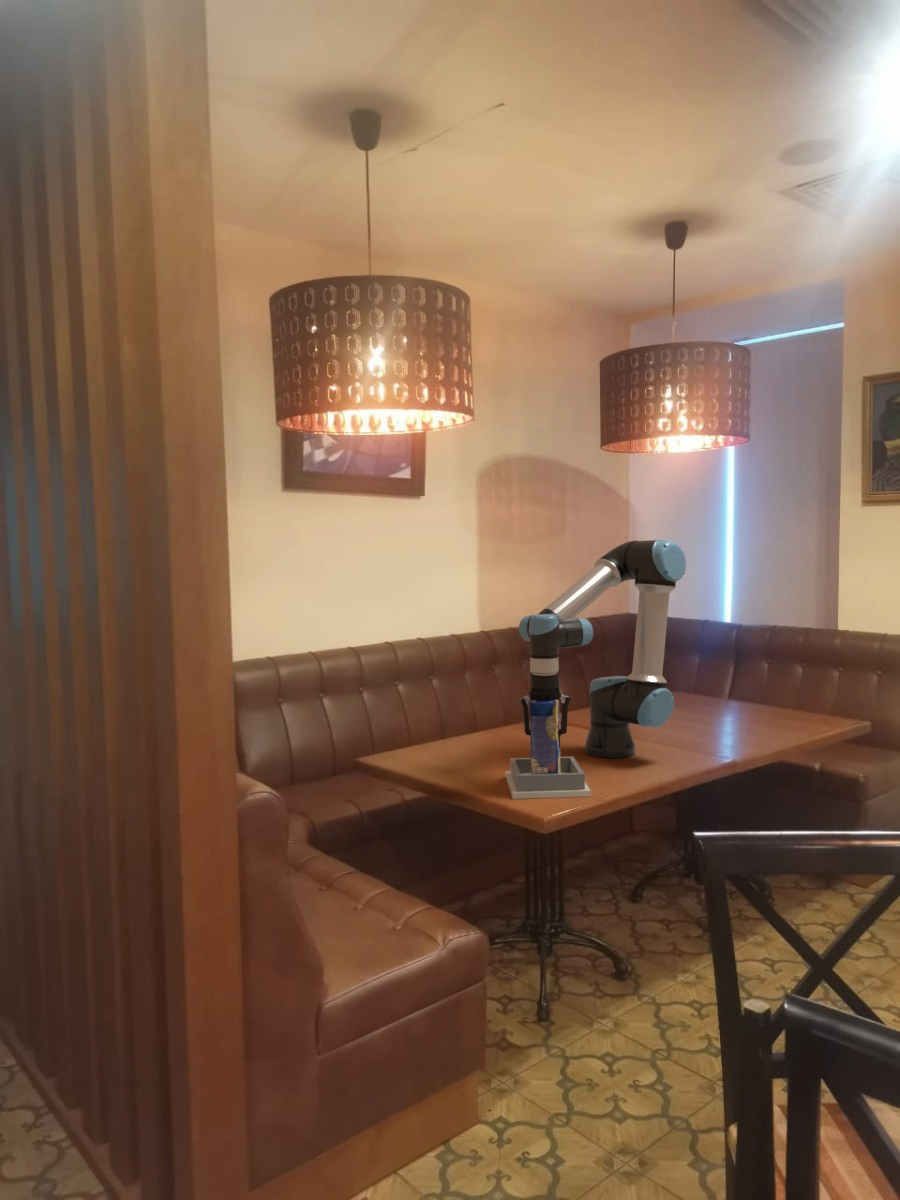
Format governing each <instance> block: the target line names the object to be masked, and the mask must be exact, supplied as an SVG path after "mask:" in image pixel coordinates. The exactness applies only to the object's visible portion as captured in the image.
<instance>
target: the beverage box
mask: <svg viewBox="0 0 900 1200" xmlns="http://www.w3.org/2000/svg"><path fill="white" fill-rule="evenodd" d="M560 709H561V707H560V699H559V700H550V701H549V700H543V701H538V700H531V699H530V701H529V726H530V735H529V736H530V758H531V774H561V768H560V757H561V746H560V747H559V737H558V727H559V729H561V718H560V717H561V716H560V713H561V712H560Z"/></svg>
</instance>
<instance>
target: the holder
mask: <svg viewBox="0 0 900 1200" xmlns="http://www.w3.org/2000/svg"><path fill="white" fill-rule="evenodd" d="M509 764H510V771H505V779H506V781H507V785H508V789H509V791H510V794H511V798H512V800H519V799H521V800H523V799H526V800H527V799H550V798H551V799H552V798H553V799H555V798H559V799H560V798H584V797H585V798H587V797H592V791H591V789H590V787H589V785H588V784H587V782H586V780H585V779H586V778H585V773H584V771H583V769H582V768H581V766H580V765H579V763H578V761H577V760H576V758H575V757H574V756H560V768H561V774H531V757H519V758H518V757H517V758H516V757H514V758H510V763H509Z"/></svg>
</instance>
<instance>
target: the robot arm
mask: <svg viewBox="0 0 900 1200" xmlns="http://www.w3.org/2000/svg"><path fill="white" fill-rule="evenodd" d="M686 561H687V560H686V556H685V552H684V551H683V550H682V548H681V546H680V545H679V544H678V543H676V542H675V541H671V540H663V539H655V540H654V539H653V540H630V541H626V542H624V543H622V544H619V545H618V546H616V547H614V548H612V549H611V550H609V551H608V552H607V553H606V554H604V555H602V556H601V557H600V558H598V559H597V560H596V562H594V563H595V564H594V567H593V568H592V569H591V570H590V571H588V572H587V573H585V575H584V576H583V577H581V578H579V580H577V581H576V582H575V583H574V584H572V586H570V587H569V588H568V589H566V590H565V591H564V592H563V593H562V594H560V595H559V596H558V597H556V599H554V600H553V601H552V602H550V603H549V604H548V605H547V606H546V607H545V608H543V609H542V610H541V611H540V612H539V613H537V614H530V615H526V616H524V617H523V618H522V619H521V620H520V622H519V624H518V632H519V635H520V637H521V638H522V639H523V641H526V642H529V665H530V666H529V671H530V672H531V674H529V676H530V677H529V680H530V684H529V685H530V686H529V687H530V688H529V689H530V690H529V692H528V695H525V696H520V697H519V702H520V704H521V705H522V715H523V716H522V717H523V727H524V728H523V730H524V733H525V735H527V736H530V713H529V706H528V705H530V701H531V700H538V701H543V700H549V701H550V700H559V701H560V703H561V712H560V713H561V716H560V717H561V718H560V729H559V727H558V737H559V747H560V748H561V736H562V735H565V734H567V732H568V731H567V730H568V709H569V704H570V701H571V698H570V696H568V695H565V694H562V693H561V691H560V675H559V674H558V672H559V670H560V668H559V667H560V666H559V665H560V664H559V656H560V655H559V649H567V648H574V647H575V648H577V647H578V648H580V647H582V646H586V645H588V644H590V643H591V642H592V640H593V637H594V628H593V625H592V624H591V622H590V621H589V620H588V619H586V618H583V617H582V618H579V617H577V616H578V615H579V614H580V613H582V612H583V611H584V610H585V609H587V608H588V607H589V606H590V605H591V604H593V603H594V601H596V600H597V599H598V598H599V597H601V596H602V595H603V594H604V593H605V592H606V591H608V590H609V589H610V588H611V587H612V588H615V587H617V586H619V585H620V584H621V583H623V582H626V581H629V580H630V581H631V580H634V586H635V588H636V589H637V590H638V592H639V593H638V603H637V616H636V626H635V637H634V649H633V659H632V670H631V671H632V672H630V674H628V676H626V675H613V676H605V677H597V678H595V679H592V680H591V682H590V684H589V691H588V693H589V717H590V720H589V721H590V727H589V731H588V733H587V737H586V739H585V743H584V752H585V753H586V755H589V756H592V757H597V758H603V759H604V758H607V759H609V758H610V759H613V758H614V759H618V758H619V759H620V758H626V757H631V756H633V755H635V754H636V744H635V741H634V739H633V735H632V732H631V729H630V724H632V725H638V726H641V727H644V728H648V727H649V728H659V727H662V726H663V725H664V724H665V723H666V722H667V721H668V720H669V719H670V717H671V716H672V713H673V711H674V706H675V699H674V695H673V693H672V692H671V691H670V690H669V689H668V682H667V680H666V678H665V677H664V675H663V673H664V672H663V669H664V660H665V647H666V637H667V626H668V616H669V615H668V613H669V601H670V594H671V592H672V591H674V590H675V589H676V584H677V582H678V581H679V580H681V579H682V578H683V576H684V575H685V573H686V569H687V562H686Z"/></svg>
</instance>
